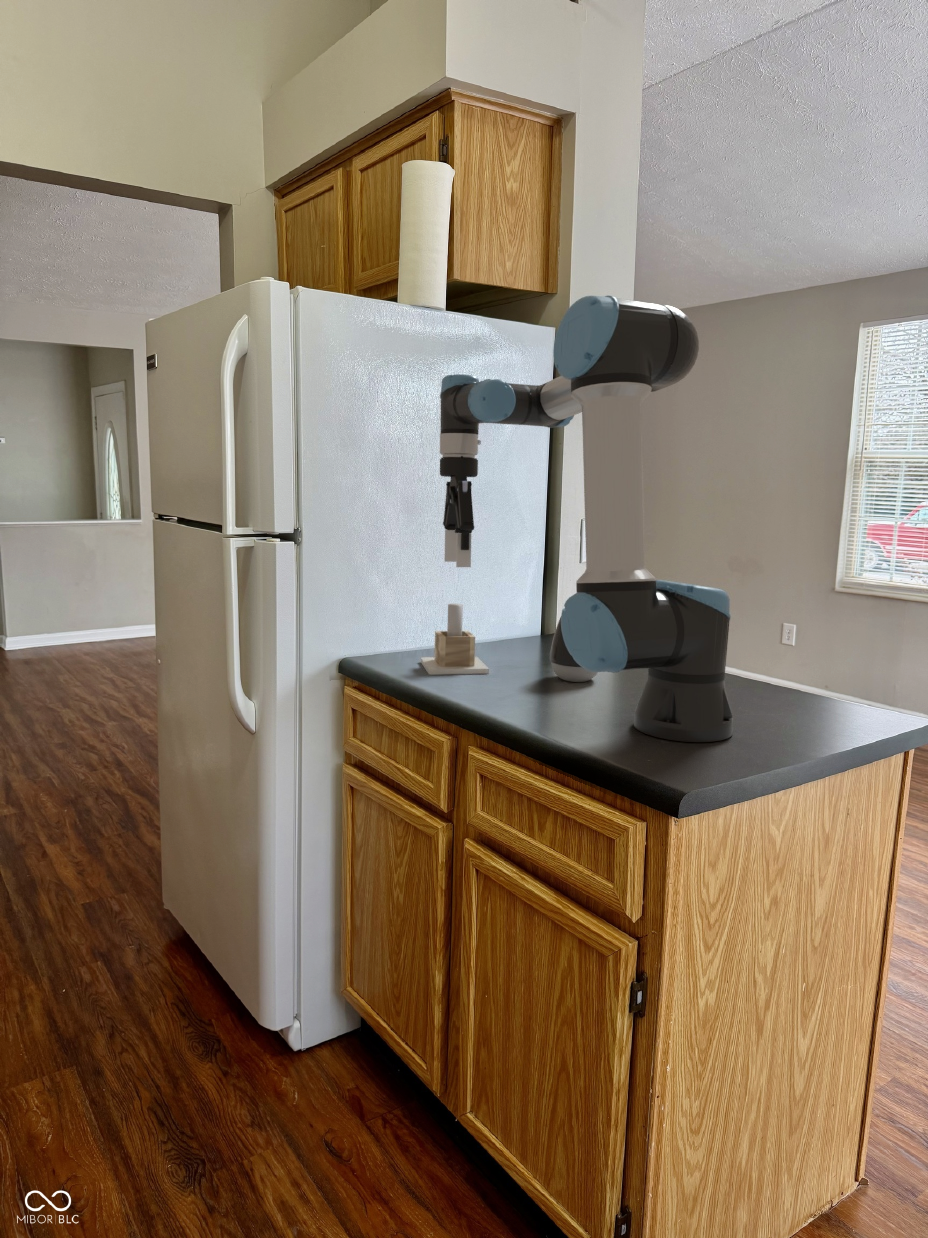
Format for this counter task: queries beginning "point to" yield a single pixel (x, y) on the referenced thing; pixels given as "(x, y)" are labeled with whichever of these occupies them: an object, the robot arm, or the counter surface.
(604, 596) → the robot arm
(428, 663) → the post fixture
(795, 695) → the counter surface
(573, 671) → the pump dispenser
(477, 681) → the counter surface
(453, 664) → the collar
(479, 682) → the counter surface
